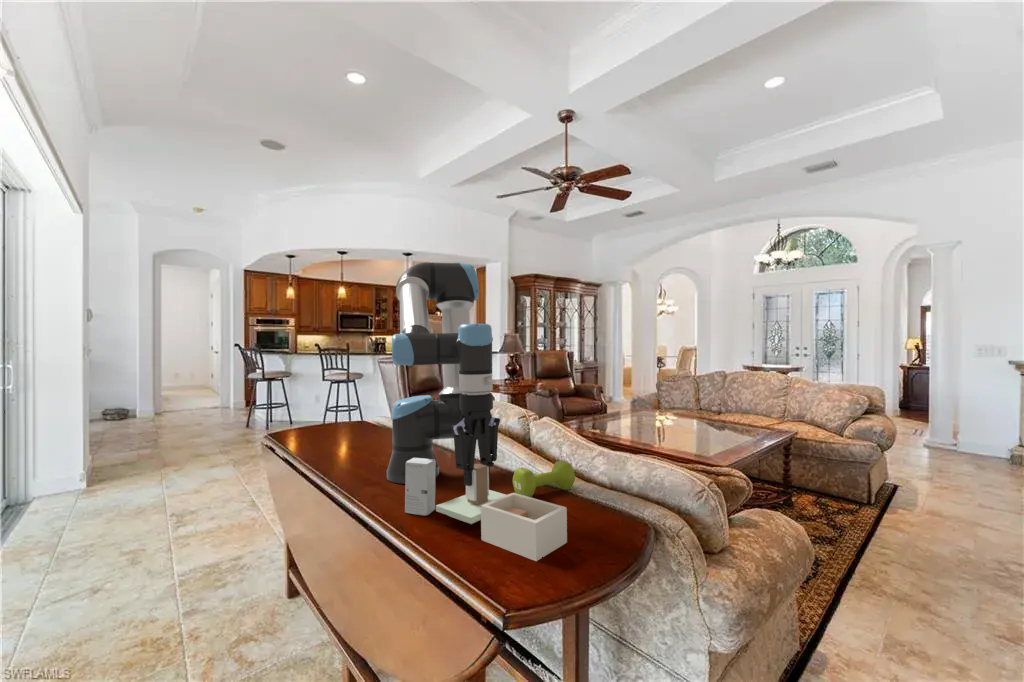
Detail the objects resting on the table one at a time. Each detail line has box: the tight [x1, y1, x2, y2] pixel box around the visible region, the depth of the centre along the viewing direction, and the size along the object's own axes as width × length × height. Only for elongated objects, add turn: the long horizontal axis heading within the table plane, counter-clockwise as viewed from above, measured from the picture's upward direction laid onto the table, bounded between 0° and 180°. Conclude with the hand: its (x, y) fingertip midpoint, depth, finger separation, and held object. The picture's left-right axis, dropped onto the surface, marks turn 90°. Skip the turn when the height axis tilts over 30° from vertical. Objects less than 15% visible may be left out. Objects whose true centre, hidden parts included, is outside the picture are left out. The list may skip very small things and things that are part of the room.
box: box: [480, 492, 568, 562], centre depth 93 cm, size 14×10×7 cm
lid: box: [435, 462, 507, 525], centre depth 104 cm, size 15×11×10 cm
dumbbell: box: [512, 460, 576, 498], centre depth 122 cm, size 16×8×7 cm, turn 120°
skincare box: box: [404, 458, 437, 517], centre depth 110 cm, size 6×4×12 cm
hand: (477, 496), depth 104 cm, fingers closed on lid, 3 cm apart
